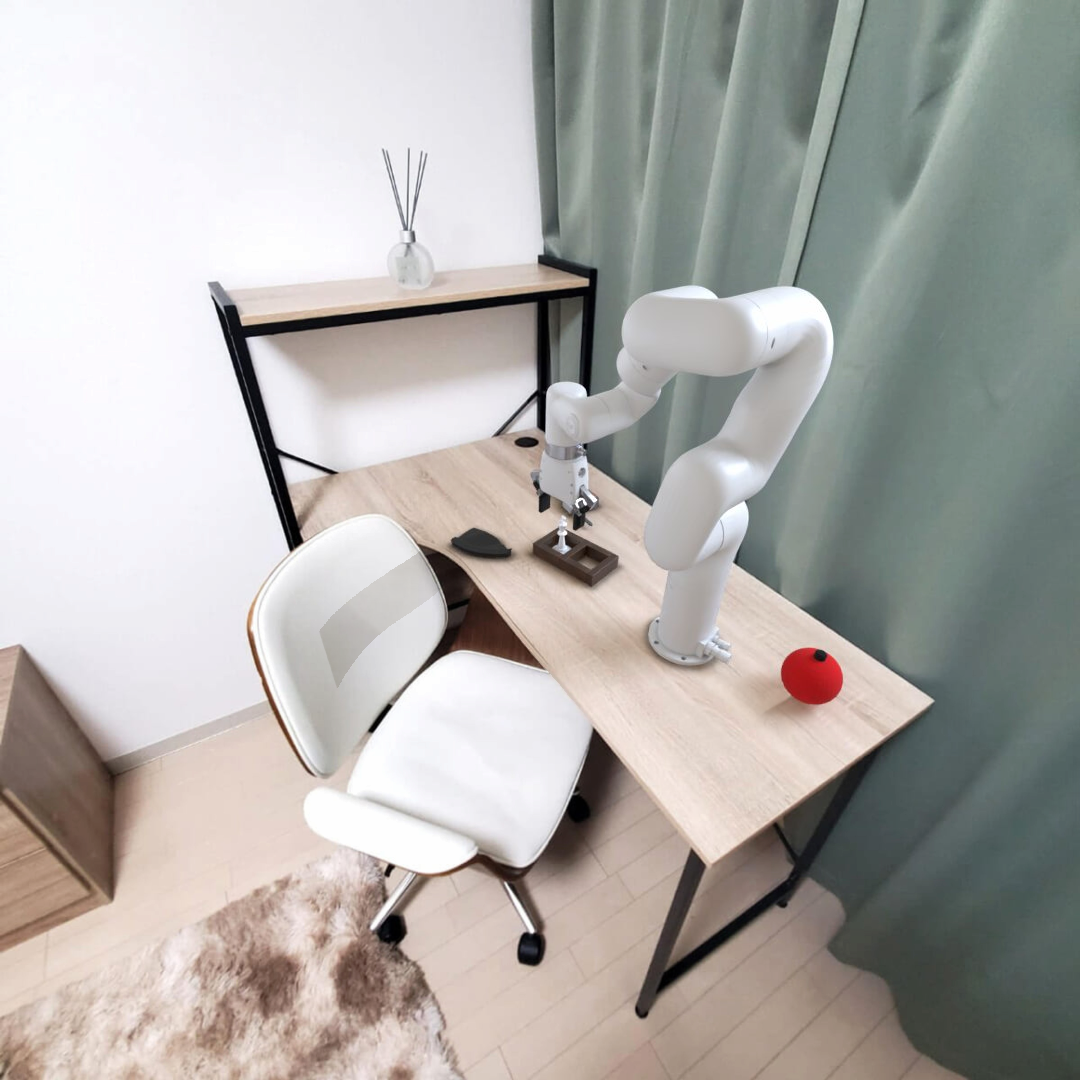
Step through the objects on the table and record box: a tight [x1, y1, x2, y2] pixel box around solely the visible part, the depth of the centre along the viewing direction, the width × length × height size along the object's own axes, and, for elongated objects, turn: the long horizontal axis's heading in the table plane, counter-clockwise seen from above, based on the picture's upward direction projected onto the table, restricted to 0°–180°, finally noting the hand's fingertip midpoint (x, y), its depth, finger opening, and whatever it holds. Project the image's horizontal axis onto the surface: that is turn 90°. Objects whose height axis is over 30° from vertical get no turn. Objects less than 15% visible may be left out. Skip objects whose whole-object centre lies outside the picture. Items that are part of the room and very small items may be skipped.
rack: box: [532, 527, 619, 588], centre depth 117 cm, size 17×9×3 cm, turn 47°
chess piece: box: [552, 514, 572, 554], centre depth 117 cm, size 5×5×10 cm
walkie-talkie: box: [562, 488, 600, 527], centre depth 134 cm, size 9×4×20 cm
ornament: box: [780, 647, 844, 706], centre depth 85 cm, size 9×9×10 cm
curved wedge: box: [450, 527, 513, 559], centre depth 120 cm, size 8×14×2 cm, turn 52°
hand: (561, 518), depth 114 cm, fingers open, 9 cm apart
